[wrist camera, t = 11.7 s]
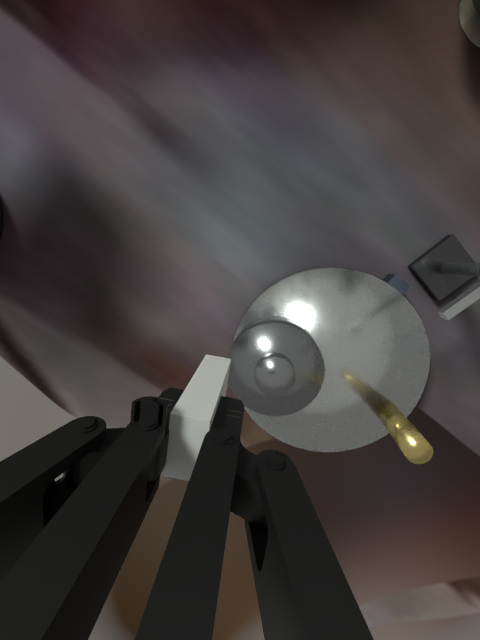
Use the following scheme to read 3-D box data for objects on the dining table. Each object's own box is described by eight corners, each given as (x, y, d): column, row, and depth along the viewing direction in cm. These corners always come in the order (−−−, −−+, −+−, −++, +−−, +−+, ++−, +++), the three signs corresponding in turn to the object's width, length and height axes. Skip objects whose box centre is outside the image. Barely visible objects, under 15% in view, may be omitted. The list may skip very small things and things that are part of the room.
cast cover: (281, 414, 34) (283, 442, 29) (214, 364, 34) (203, 383, 28) (336, 351, 32) (350, 369, 27) (266, 298, 32) (265, 305, 26)
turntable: (334, 473, 37) (353, 538, 28) (198, 372, 36) (176, 407, 28) (470, 338, 32) (546, 367, 23) (317, 218, 31) (335, 201, 22)
